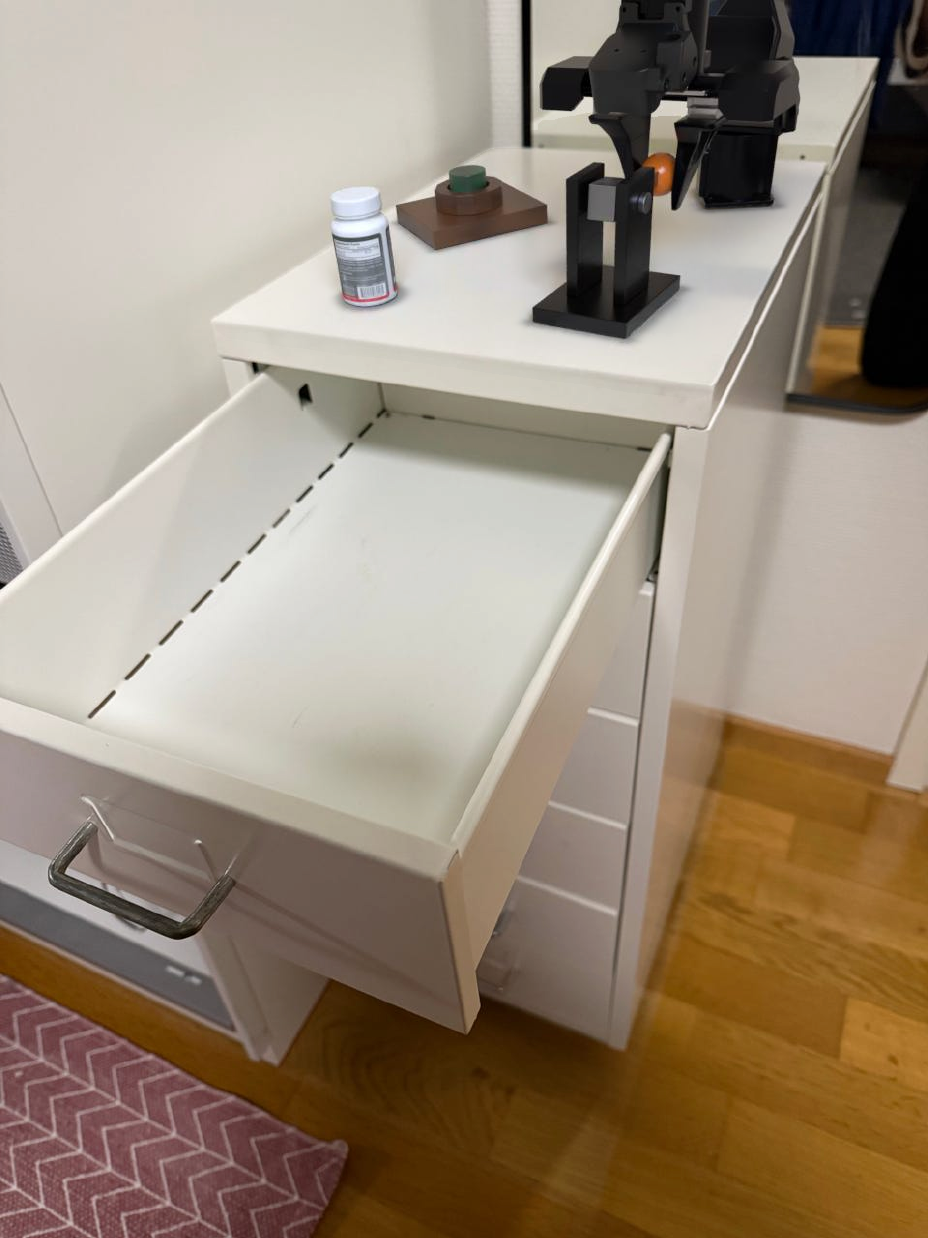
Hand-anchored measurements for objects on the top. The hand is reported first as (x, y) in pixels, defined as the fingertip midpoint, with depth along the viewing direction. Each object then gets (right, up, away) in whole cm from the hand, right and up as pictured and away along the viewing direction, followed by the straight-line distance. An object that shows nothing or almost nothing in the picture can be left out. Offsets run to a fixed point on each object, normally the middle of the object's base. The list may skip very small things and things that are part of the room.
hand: (656, 207), depth 72 cm
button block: (-15, +6, +16) cm, 23 cm away
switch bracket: (-4, -9, -2) cm, 10 cm away
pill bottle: (-24, -6, +4) cm, 25 cm away
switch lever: (-2, -2, -3) cm, 4 cm away
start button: (-15, +8, +14) cm, 22 cm away
